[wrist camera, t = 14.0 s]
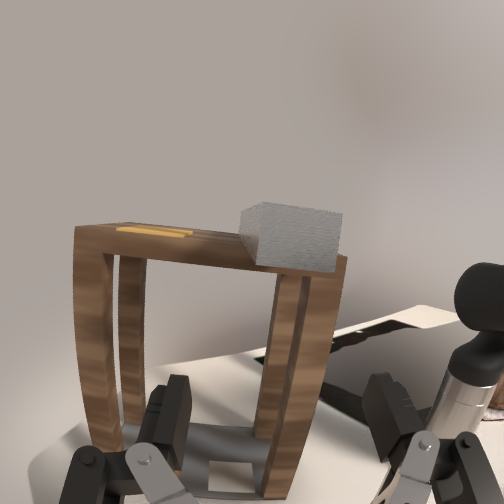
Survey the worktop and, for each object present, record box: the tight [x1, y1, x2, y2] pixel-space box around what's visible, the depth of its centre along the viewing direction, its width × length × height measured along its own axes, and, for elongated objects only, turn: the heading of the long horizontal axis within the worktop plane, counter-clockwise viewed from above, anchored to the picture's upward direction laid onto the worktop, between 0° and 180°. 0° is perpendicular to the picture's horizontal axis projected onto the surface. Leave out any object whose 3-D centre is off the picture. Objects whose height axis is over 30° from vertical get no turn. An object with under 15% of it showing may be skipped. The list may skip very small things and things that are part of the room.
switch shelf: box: [73, 222, 347, 500], centre depth 34 cm, size 16×24×32 cm, turn 94°
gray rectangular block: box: [238, 202, 343, 273], centre depth 26 cm, size 24×4×3 cm, turn 5°
